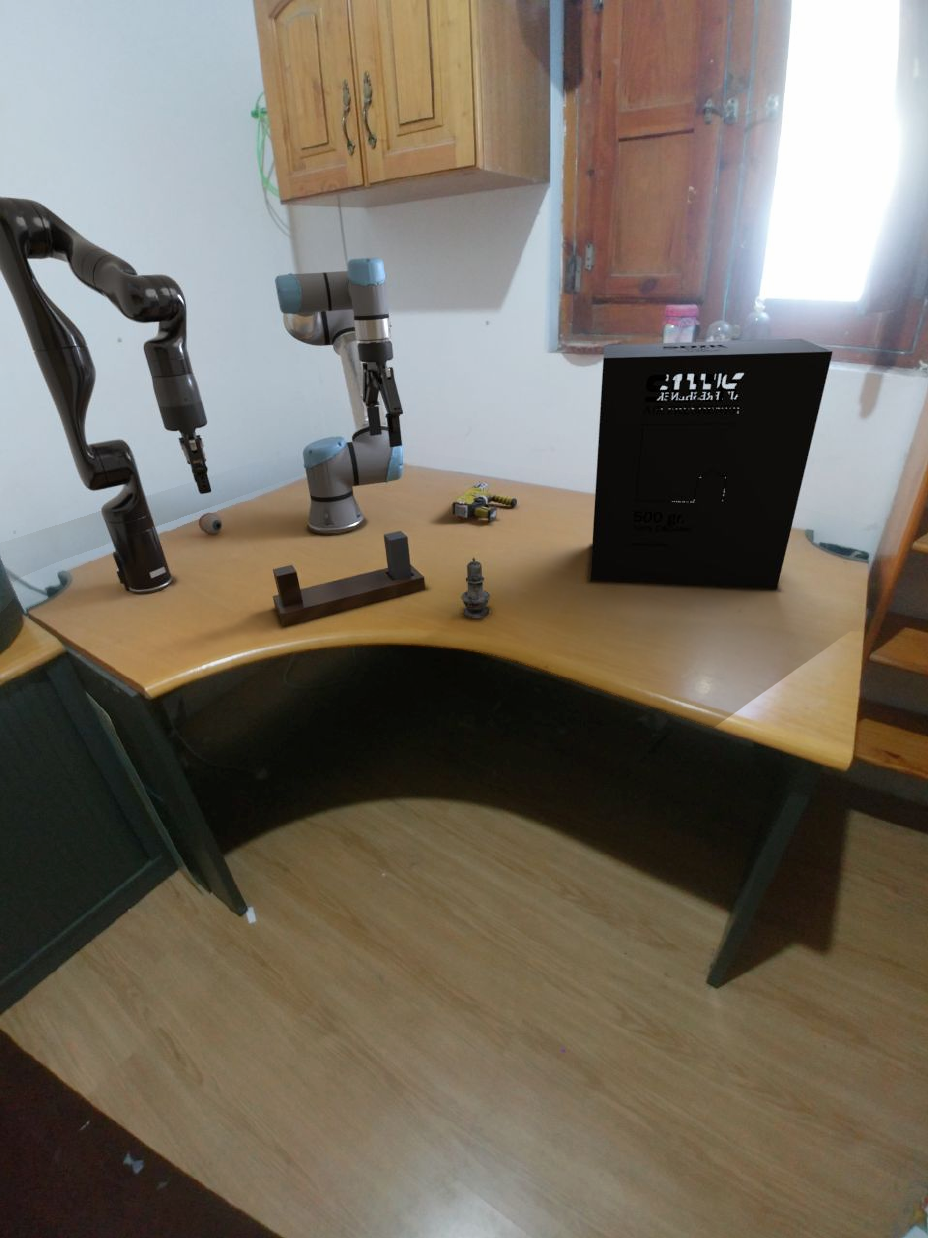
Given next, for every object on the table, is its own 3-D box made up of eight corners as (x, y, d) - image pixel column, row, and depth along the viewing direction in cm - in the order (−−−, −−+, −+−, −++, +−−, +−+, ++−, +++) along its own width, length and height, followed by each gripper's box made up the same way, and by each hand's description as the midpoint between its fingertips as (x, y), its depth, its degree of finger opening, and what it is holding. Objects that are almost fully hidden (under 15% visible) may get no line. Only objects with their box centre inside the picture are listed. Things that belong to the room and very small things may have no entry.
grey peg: (396, 591, 132) (389, 540, 126) (389, 584, 135) (383, 534, 129) (412, 586, 134) (407, 536, 128) (406, 580, 137) (400, 530, 131)
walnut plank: (284, 626, 121) (273, 582, 116) (275, 608, 128) (265, 565, 123) (425, 589, 132) (421, 547, 127) (410, 574, 140) (405, 533, 135)
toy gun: (525, 486, 181) (478, 479, 184) (503, 510, 160) (450, 501, 164) (523, 501, 183) (477, 494, 187) (501, 526, 163) (450, 518, 167)
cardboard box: (756, 549, 141) (800, 338, 118) (776, 589, 124) (832, 351, 101) (592, 544, 148) (604, 344, 126) (590, 580, 131) (603, 357, 109)
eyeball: (212, 539, 164) (206, 518, 161) (197, 535, 167) (191, 515, 164) (230, 531, 169) (224, 511, 166) (215, 528, 172) (210, 508, 169)
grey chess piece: (488, 619, 119) (486, 564, 113) (459, 618, 120) (455, 563, 114) (493, 605, 124) (491, 551, 118) (465, 604, 125) (462, 550, 119)
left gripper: (205, 403, 106) (228, 493, 114) (197, 392, 117) (218, 475, 125) (159, 409, 103) (186, 500, 111) (155, 397, 114) (180, 481, 122)
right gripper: (412, 343, 122) (421, 448, 133) (372, 335, 142) (382, 428, 152) (376, 346, 119) (389, 454, 130) (341, 338, 139) (354, 432, 149)
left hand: (203, 487), depth 118 cm, fingers open, 8 cm apart
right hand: (385, 440), depth 141 cm, fingers open, 13 cm apart
